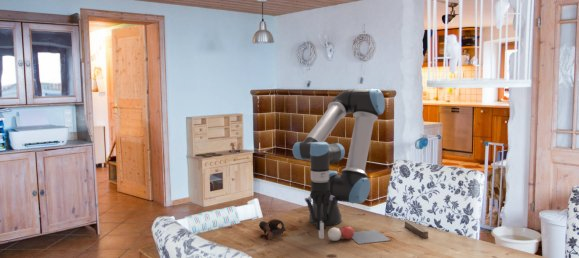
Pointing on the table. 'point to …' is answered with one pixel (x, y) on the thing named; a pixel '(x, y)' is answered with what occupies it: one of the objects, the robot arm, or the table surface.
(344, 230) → the red ball
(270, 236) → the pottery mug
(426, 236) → the strip
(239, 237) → the table surface
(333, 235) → the cue ball
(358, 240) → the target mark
